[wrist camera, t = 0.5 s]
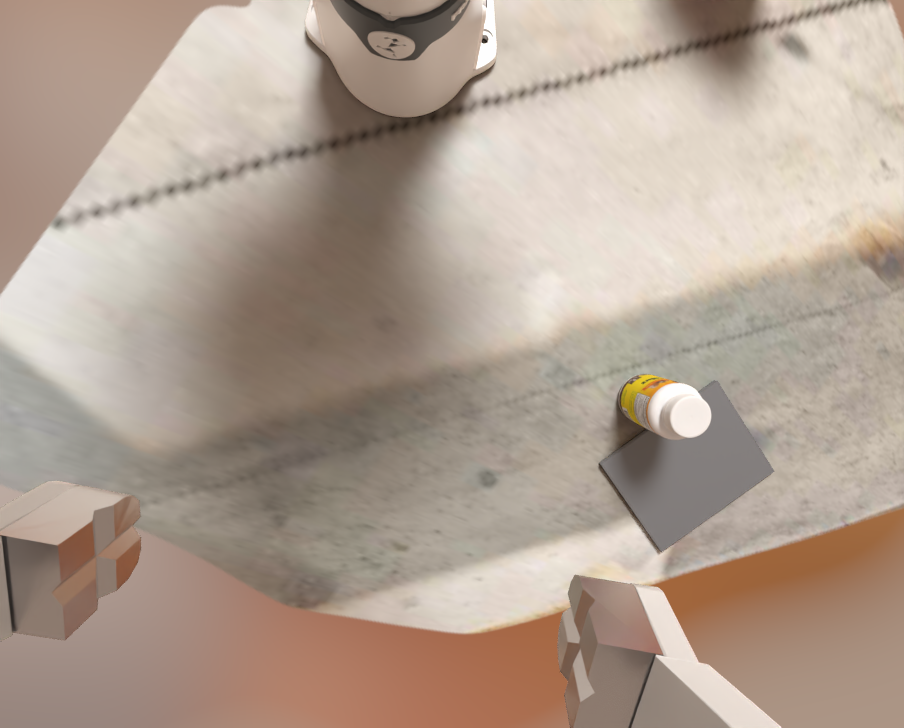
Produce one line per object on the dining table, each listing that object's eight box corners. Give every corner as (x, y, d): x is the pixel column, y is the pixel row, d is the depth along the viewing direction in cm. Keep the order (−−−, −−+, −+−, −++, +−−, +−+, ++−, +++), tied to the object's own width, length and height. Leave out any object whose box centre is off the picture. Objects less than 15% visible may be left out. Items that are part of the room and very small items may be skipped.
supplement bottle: (668, 376, 54) (726, 391, 44) (659, 424, 55) (714, 450, 45) (620, 369, 54) (668, 383, 44) (612, 418, 54) (657, 443, 44)
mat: (599, 463, 55) (601, 464, 54) (714, 380, 55) (717, 381, 54) (658, 549, 57) (661, 552, 56) (770, 469, 56) (774, 471, 56)
